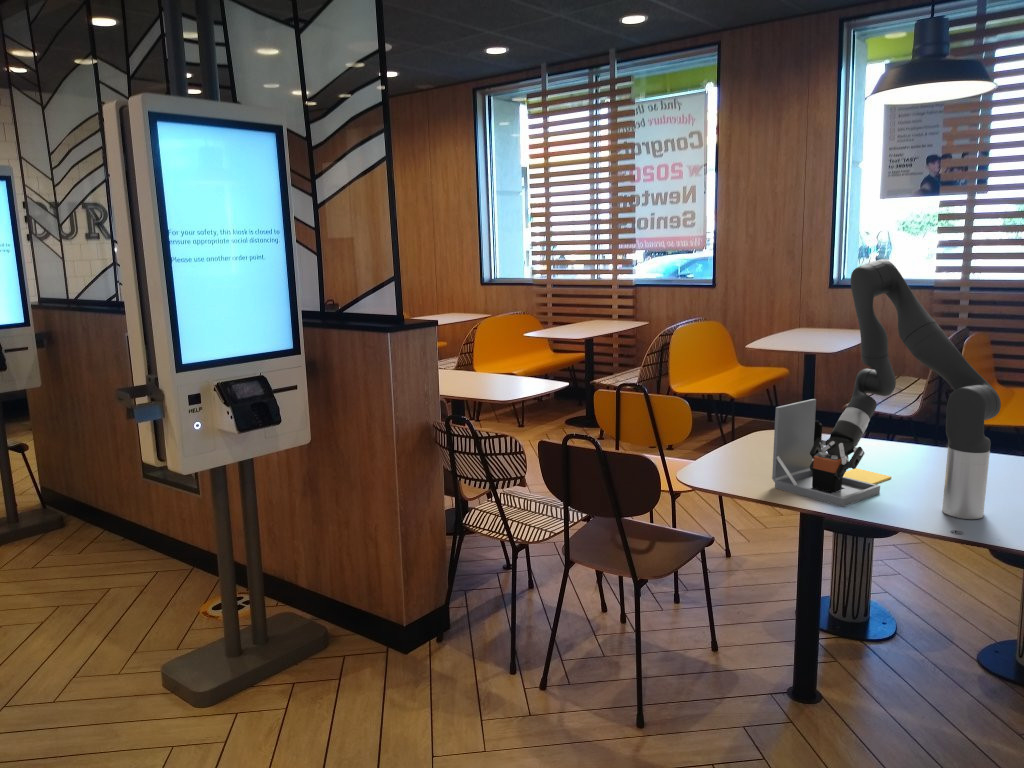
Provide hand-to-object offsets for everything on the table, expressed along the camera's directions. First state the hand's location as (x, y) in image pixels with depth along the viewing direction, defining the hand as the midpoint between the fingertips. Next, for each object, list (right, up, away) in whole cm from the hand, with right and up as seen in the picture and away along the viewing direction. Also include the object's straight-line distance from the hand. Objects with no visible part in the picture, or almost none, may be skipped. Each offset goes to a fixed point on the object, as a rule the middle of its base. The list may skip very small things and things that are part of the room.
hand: (824, 474), depth 221 cm
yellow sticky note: (+17, -2, +13) cm, 21 cm away
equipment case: (+1, -5, +2) cm, 5 cm away
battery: (+1, -4, +2) cm, 5 cm away
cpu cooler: (+12, +3, +46) cm, 48 cm away
